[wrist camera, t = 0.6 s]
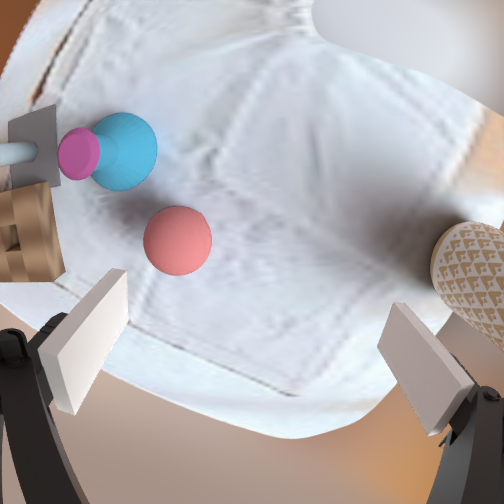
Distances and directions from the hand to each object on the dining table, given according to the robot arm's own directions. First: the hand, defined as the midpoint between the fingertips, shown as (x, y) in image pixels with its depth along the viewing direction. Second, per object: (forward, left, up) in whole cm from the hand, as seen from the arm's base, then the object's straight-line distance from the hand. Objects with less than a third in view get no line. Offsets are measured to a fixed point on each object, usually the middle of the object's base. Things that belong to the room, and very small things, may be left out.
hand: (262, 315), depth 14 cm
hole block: (0, -36, -26) cm, 44 cm away
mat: (-12, -32, -26) cm, 43 cm away
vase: (+8, +32, -26) cm, 42 cm away
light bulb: (+1, -8, -26) cm, 27 cm away
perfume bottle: (-9, -15, -26) cm, 31 cm away
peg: (-12, -32, -26) cm, 42 cm away
